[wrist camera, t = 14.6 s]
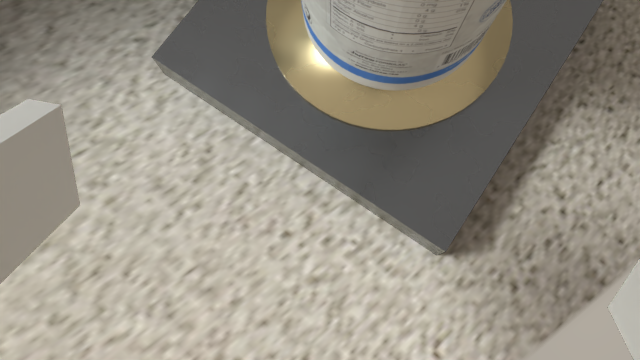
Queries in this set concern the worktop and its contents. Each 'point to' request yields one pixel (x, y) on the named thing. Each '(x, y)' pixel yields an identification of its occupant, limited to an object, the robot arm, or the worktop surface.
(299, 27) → the arbor press
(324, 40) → the supplement tub
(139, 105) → the worktop surface
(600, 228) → the worktop surface
